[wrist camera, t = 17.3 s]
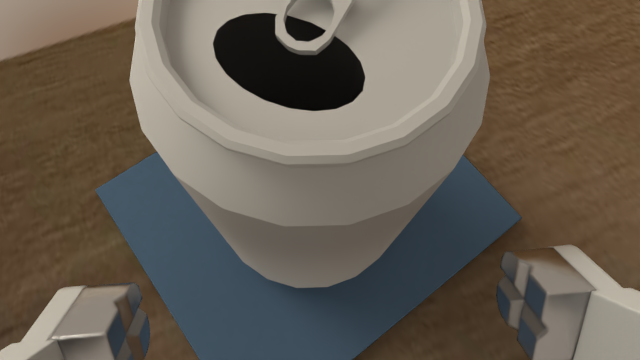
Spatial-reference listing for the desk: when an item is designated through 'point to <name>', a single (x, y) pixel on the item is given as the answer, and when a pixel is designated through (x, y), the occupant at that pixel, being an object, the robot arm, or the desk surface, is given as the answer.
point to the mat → (286, 301)
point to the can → (310, 119)
